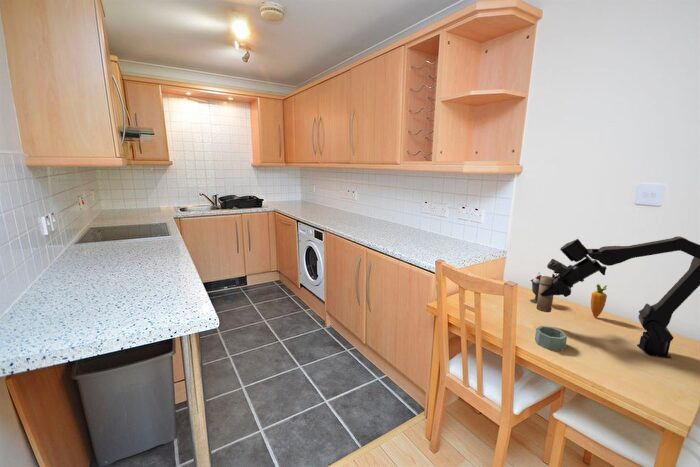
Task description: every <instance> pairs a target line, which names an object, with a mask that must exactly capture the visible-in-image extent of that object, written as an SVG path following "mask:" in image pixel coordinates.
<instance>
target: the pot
mask: <svg viewBox="0 0 700 467" xmlns="http://www.w3.org/2000/svg"><path fill="white" fill-rule="evenodd" d="M534 334H535V335H534V341H535V343H536V345H537V346H540V347H542V348H544V349H545V350H546V349H547V350H549V351H558V352H562V351H563V350H565V349H566V346H567V339H568V336H567V334H566V333H565V332H564V331H563V330H561V329H558V328H556V327H553V326H546V325H545V326H544V325H540V326H537V327H535V333H534Z"/></svg>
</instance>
